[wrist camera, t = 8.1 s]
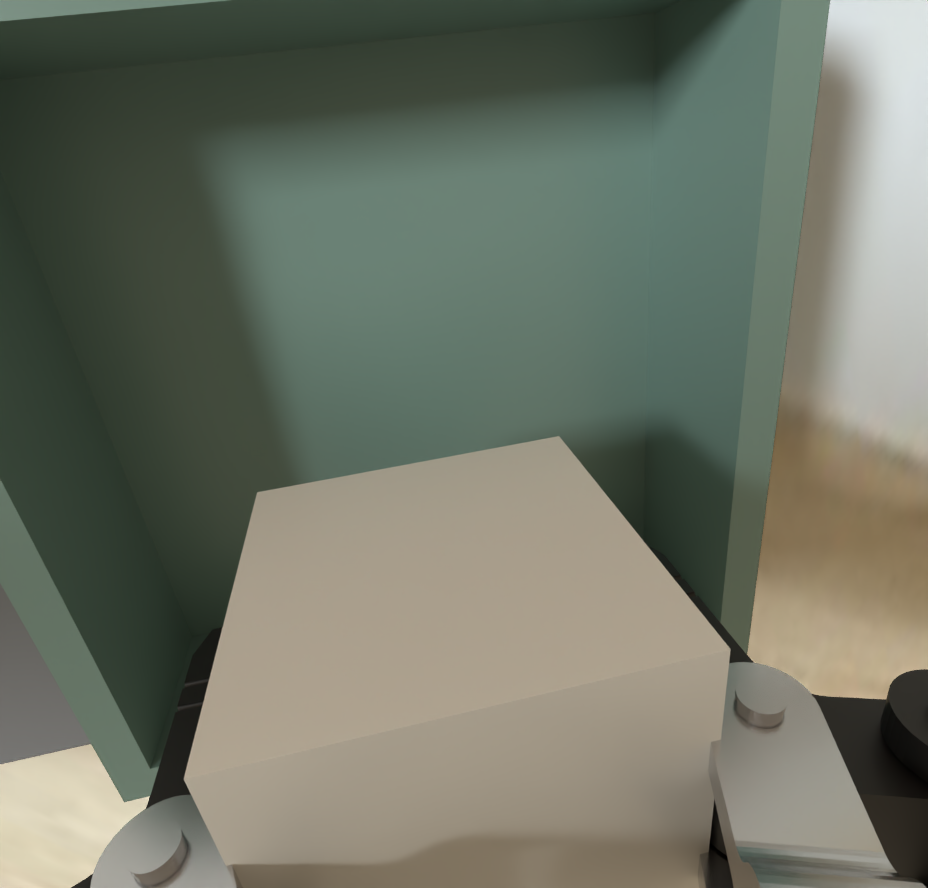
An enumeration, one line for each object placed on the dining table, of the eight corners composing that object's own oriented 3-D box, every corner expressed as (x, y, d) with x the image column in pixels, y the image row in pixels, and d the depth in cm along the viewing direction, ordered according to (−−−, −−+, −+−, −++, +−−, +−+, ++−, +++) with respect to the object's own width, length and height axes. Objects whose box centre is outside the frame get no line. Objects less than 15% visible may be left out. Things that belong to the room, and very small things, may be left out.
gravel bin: (179, 639, 17) (124, 802, 13) (-72, 44, 11) (-350, -36, 7) (652, 539, 19) (747, 653, 15) (670, -26, 13) (846, -128, 8)
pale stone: (325, 712, 12) (315, 1048, 7) (256, 492, 10) (183, 779, 5) (570, 655, 12) (700, 933, 8) (558, 436, 10) (730, 649, 6)
